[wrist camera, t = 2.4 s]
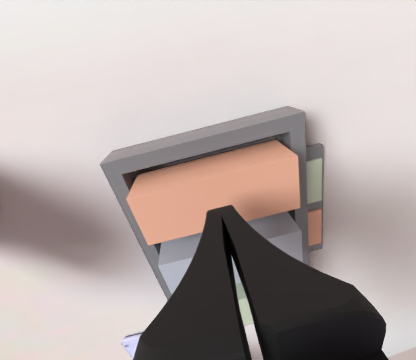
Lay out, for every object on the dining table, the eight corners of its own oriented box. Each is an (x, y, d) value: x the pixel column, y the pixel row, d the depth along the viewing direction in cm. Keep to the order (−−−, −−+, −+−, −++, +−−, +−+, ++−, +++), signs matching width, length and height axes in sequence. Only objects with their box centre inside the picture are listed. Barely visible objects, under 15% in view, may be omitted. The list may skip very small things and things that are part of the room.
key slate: (284, 236, 19) (303, 267, 16) (175, 263, 20) (173, 298, 16) (281, 203, 18) (301, 230, 15) (162, 233, 18) (157, 265, 15)
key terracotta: (279, 183, 17) (300, 207, 14) (154, 214, 17) (148, 245, 14) (275, 139, 15) (298, 155, 12) (137, 174, 15) (126, 199, 12)
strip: (319, 244, 22) (323, 249, 22) (300, 249, 22) (303, 254, 22) (319, 143, 17) (324, 146, 17) (295, 149, 17) (299, 152, 17)
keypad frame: (298, 273, 24) (310, 295, 22) (181, 301, 24) (180, 326, 22) (287, 106, 16) (304, 111, 13) (112, 151, 16) (99, 164, 14)
